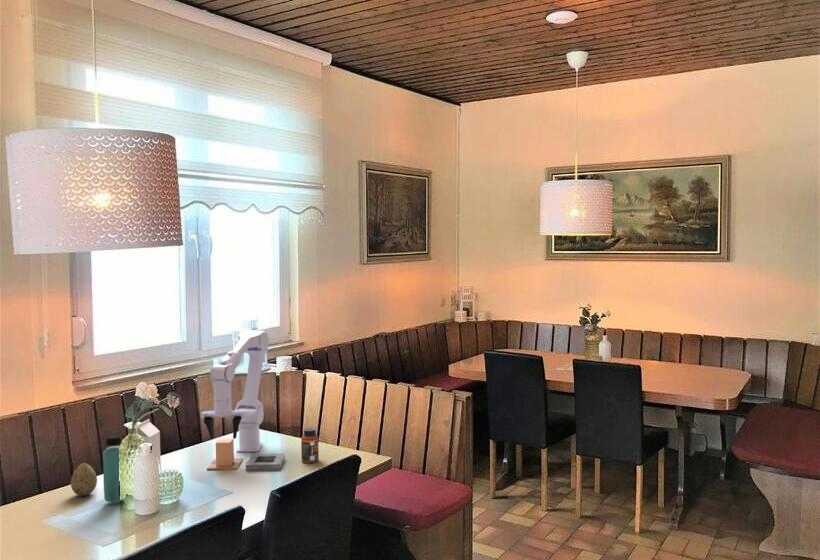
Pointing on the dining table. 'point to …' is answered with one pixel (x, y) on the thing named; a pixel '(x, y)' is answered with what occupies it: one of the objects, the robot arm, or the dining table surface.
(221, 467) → the walnut pad
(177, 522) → the dining table surface
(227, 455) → the terracotta block
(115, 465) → the beverage bottle
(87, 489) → the decorative egg
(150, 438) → the milk carton
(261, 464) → the square socket
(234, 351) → the robot arm
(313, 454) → the supplement bottle
